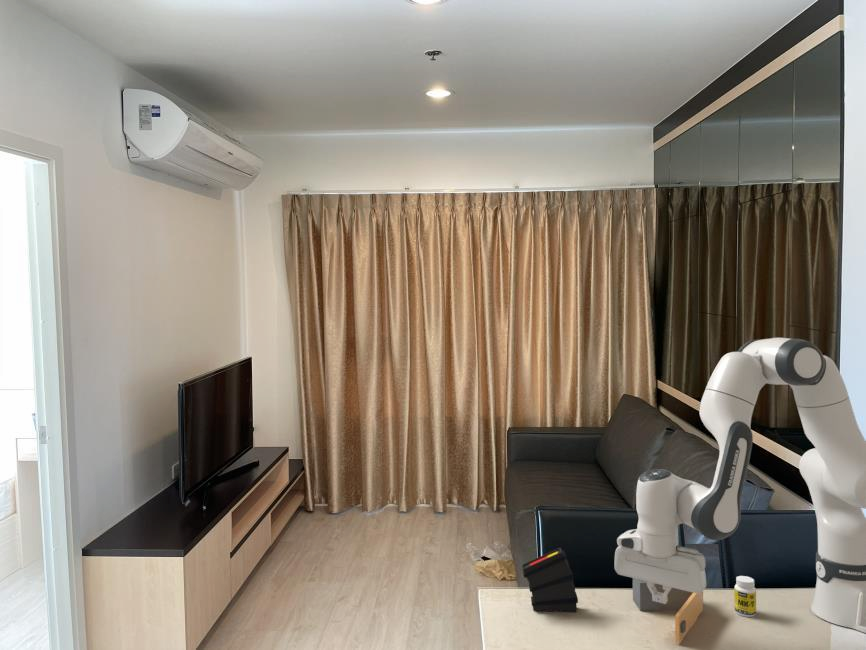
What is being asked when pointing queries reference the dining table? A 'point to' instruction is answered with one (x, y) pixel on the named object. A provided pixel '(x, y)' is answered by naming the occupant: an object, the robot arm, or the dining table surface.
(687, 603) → the side door
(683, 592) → the block
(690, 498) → the robot arm
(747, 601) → the supplement bottle
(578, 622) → the dining table surface
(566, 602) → the magazine
